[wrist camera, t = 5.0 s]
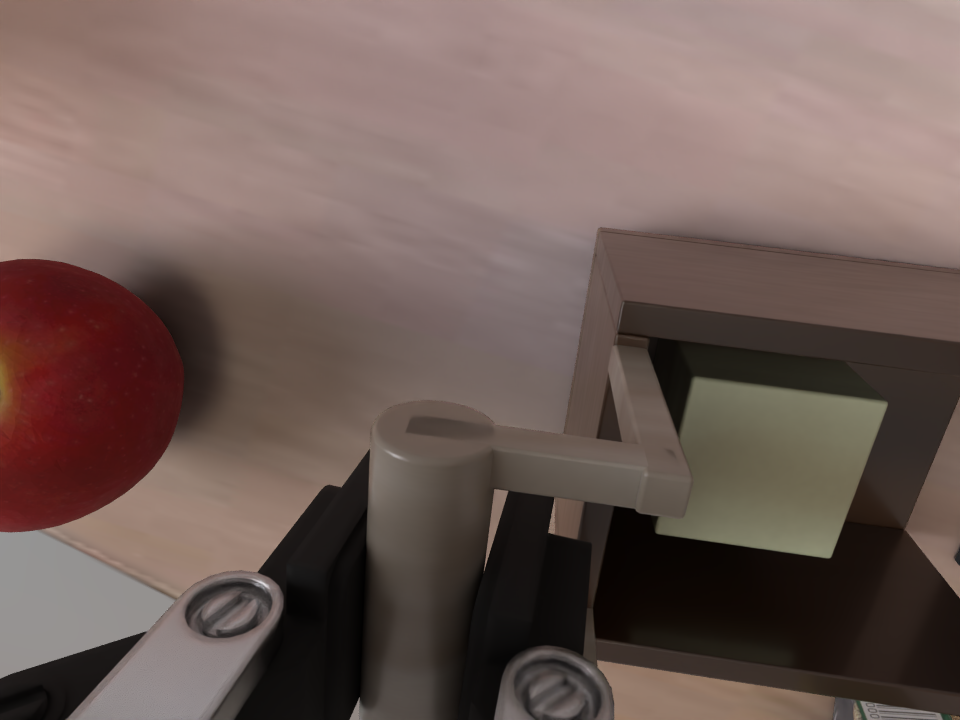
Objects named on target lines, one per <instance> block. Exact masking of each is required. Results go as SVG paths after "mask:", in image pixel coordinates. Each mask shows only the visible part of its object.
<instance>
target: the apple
mask: <svg viewBox="0 0 960 720" xmlns="http://www.w3.org/2000/svg"><path fill="white" fill-rule="evenodd" d="M183 390H184V369H183V363H182V360H181V357H180V355H179V352H178V350H177V347H176V345H175V343H174V340H173V338H172V336H171V334H170V333H169V331H168V330H167V328H166V327H165V325H164V324H163V322H162V321H161V319H160V318H159V317H158V316H157V315H156V314H155V313H154V312H153V311H152V310H151V309H150V308H149V307H148V306H147V305H146V304H145V303H144V302H143V301H142V300H140V299H139V298H138V297H137V296H135V295H134V294H133V293H131V292H130V291H129V290H127V289H125V288H124V287H122V286H121V285H119V284H117V283H116V282H114V281H112V280H110V279H108V278H106V277H104V276H102V275H100V274H97V273H95V272H92V271H89V270H86V269H83V268H80V267H77V266H74V265H70V264H67V263H63V262H57V261H50V260H40V259H17V260H11V261H5V262H0V532H25V531H33V530H40V529H46V528H50V527H55V526H59V525H62V524H65V523H68V522H71V521H73V520H76V519H79V518H82V517H84V516H86V515H88V514H90V513H92V512H94V511H96V510H98V509H100V508H102V507H104V506H105V505H107V504H109V503H111V502H112V501H114V500H115V499H117V498H118V497H120V496H121V495H123V494H124V493H126V492H127V491H128V490H130V489H131V488H132V487H133V486H134V485H136V484H137V483H138V482H139V481H140V480H141V479H142V478H143V477H145V476H146V475H147V474H148V473H149V472H150V470H151V469H152V468H153V467H154V466H155V464H156V463H157V462H158V460H159V459H160V458H161V456H162V455H163V453H164V452H165V450H166V449H167V447H168V445H169V443H170V441H171V438H172V436H173V433H174V431H175V428H176V424H177V421H178V417H179V414H180V409H181V404H182V398H183Z"/></svg>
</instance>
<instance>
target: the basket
mask: <svg viewBox="0 0 960 720" xmlns="http://www.w3.org/2000/svg"><path fill="white" fill-rule="evenodd" d="M659 338H662V339H670V340H678V341H686V342H693V343H701V344H709V345H717V346H725V347H733V348H741V349H748V350H756V351H764V352H772V353H780V354H788V355H796V356H803V357H811V358H819V359H827V360H835V361H843V362H846V363H847V364H848V365H849V366H850V367H851V368H852V369H853V370H854V371H855V372H856V373H857V374H858V375H859V376H861V377H862V378H863V379H864V380H865V381H866V382H867V383H868V384H869V385H870V386H871V387H872V388H873V389H874V390H875V391H877V392H878V393H879V394H880V395H881V396H882V397H883V398H884V399H885V400H886V401H887V402H888V406H887V409H886V411H885V414H884V417H883V420H882V422H881V425H880V428H879V430H878V433H877V436H876V438H875V441H874V444H873V446H872V449H871V452H870V454H869V457H868V460H867V462H866V465H865V468H864V471H863V473H862V476H861V479H860V481H859V484H858V487H857V489H856V492H855V495H854V497H853V500H852V503H851V505H850V508H849V511H848V513H847V516H846V519H845V522H844V524H843V527H842V530H841V532H840V535H839V538H838V540H837V543H836V546H835V548H834V551H833V554H832V556H831V558H821V557H814V556H807V555H800V554H793V553H786V552H779V551H772V550H765V549H758V548H751V547H744V546H737V545H731V544H724V543H717V542H710V541H703V540H696V539H689V538H682V537H675V536H668V535H661V534H657V533H655V531H654V526H653V522H652V518H651V515H654V516H661V517H668V518H675V519H683V517H684V516H685V513H686V510H687V506H688V502H689V498H690V494H691V490H692V487H693V483H694V479H693V476H692V473H691V470H690V467H689V465H688V462H687V459H686V456H685V454H684V451H683V448H682V445H681V442H680V440H679V437H678V434H677V431H676V429H675V426H674V423H673V420H672V417H671V415H670V412H669V409H668V406H667V404H666V401H665V398H664V395H663V392H662V390H661V387H660V384H659V381H658V379H657V376H656V373H655V370H654V367H653V364H654V359H655V355H656V350H657V345H658V341H659ZM959 397H960V270H955V269H947V268H938V267H930V266H922V265H913V264H905V263H896V262H888V261H880V260H871V259H863V258H854V257H846V256H837V255H829V254H821V253H812V252H804V251H795V250H787V249H778V248H770V247H762V246H753V245H745V244H736V243H728V242H720V241H711V240H703V239H694V238H686V237H677V236H669V235H661V234H652V233H644V232H635V231H627V230H618V229H610V228H602V227H601V228H599V229H598V231H597V237H596V243H595V249H594V255H593V261H592V267H591V273H590V279H589V285H588V291H587V297H586V303H585V309H584V315H583V321H582V327H581V333H580V339H579V345H578V351H577V357H576V363H575V369H574V375H573V381H572V387H571V393H570V399H569V405H568V410H567V416H566V422H565V428H564V434H558V433H551V432H544V431H536V430H529V429H522V428H515V427H507V426H500V425H495V424H494V422H493V421H492V420H491V419H490V418H489V417H487V416H486V415H484V414H483V413H481V412H479V411H477V410H475V409H473V408H470V407H467V406H464V405H461V404H456V403H451V402H445V401H432V400H425V401H413V402H407V403H402V404H399V405H395V406H393V407H390V408H388V409H387V410H385V411H383V412H382V413H381V414H380V415H379V416H378V417H377V418H376V419H375V421H374V423H373V425H372V428H371V438H370V463H369V487H368V511H367V535H366V559H365V584H364V608H363V632H362V656H361V681H360V706H359V720H457V719H458V712H459V705H460V697H461V690H462V683H463V676H464V669H465V662H466V655H467V648H468V641H469V634H470V627H471V621H472V615H473V611H474V606H475V602H476V598H477V594H478V591H479V587H480V584H481V581H482V577H483V574H484V566H485V558H486V550H487V542H488V534H489V526H490V518H491V510H492V503H493V495H494V489H500V490H507V491H514V492H521V493H528V494H535V495H542V496H549V497H555V535H559V536H564V537H568V538H573V539H577V540H582V541H586V542H591V543H592V553H591V566H590V578H589V591H588V603H587V616H586V628H585V641H584V653H583V657H585V658H587V659H588V660H590V661H591V662H593V663H594V665H595V666H596V667H597V660H599V661H606V662H612V663H619V664H625V665H632V666H638V667H644V668H651V669H657V670H664V671H670V672H677V673H683V674H690V675H696V676H702V677H709V678H715V679H722V680H728V681H735V682H741V683H748V684H754V685H761V686H767V687H773V688H780V689H786V690H793V691H799V692H806V693H812V694H819V695H825V696H832V697H838V698H844V699H851V700H857V701H864V702H870V703H877V704H883V705H890V706H896V707H902V708H909V709H915V710H922V711H928V712H935V713H941V714H948V715H954V716H960V598H959V597H958V596H957V594H956V593H955V592H954V591H953V589H952V588H951V587H950V586H949V584H948V583H947V582H946V581H945V579H944V578H943V577H942V576H941V574H940V573H939V572H938V571H937V569H936V568H935V567H934V566H933V564H932V563H931V562H930V561H929V559H928V558H927V557H926V556H925V554H924V553H923V552H922V551H921V549H920V548H919V547H918V546H917V544H916V543H915V542H914V541H913V539H912V538H911V537H910V536H909V534H908V533H907V532H906V531H905V527H906V525H907V522H908V520H909V518H910V515H911V513H912V510H913V508H914V506H915V503H916V501H917V498H918V496H919V494H920V491H921V489H922V486H923V484H924V482H925V479H926V477H927V474H928V472H929V470H930V467H931V465H932V462H933V460H934V458H935V455H936V453H937V450H938V448H939V446H940V443H941V441H942V438H943V436H944V434H945V431H946V429H947V426H948V424H949V422H950V419H951V417H952V414H953V412H954V410H955V407H956V405H957V402H958V400H959Z"/></svg>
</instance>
